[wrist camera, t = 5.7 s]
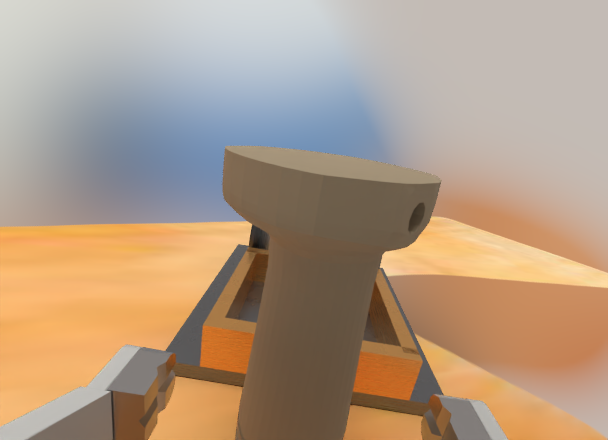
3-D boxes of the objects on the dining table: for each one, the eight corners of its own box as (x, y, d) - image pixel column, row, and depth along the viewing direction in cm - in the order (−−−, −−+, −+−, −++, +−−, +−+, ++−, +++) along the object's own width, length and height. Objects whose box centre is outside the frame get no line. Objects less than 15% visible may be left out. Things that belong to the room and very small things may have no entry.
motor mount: (380, 274, 37) (394, 219, 35) (444, 419, 18) (484, 320, 16) (238, 250, 37) (244, 194, 35) (158, 372, 18) (161, 267, 16)
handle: (361, 506, 13) (469, 181, 9) (240, 680, 9) (340, 186, 4) (289, 425, 16) (343, 153, 12) (172, 521, 12) (190, 139, 7)
